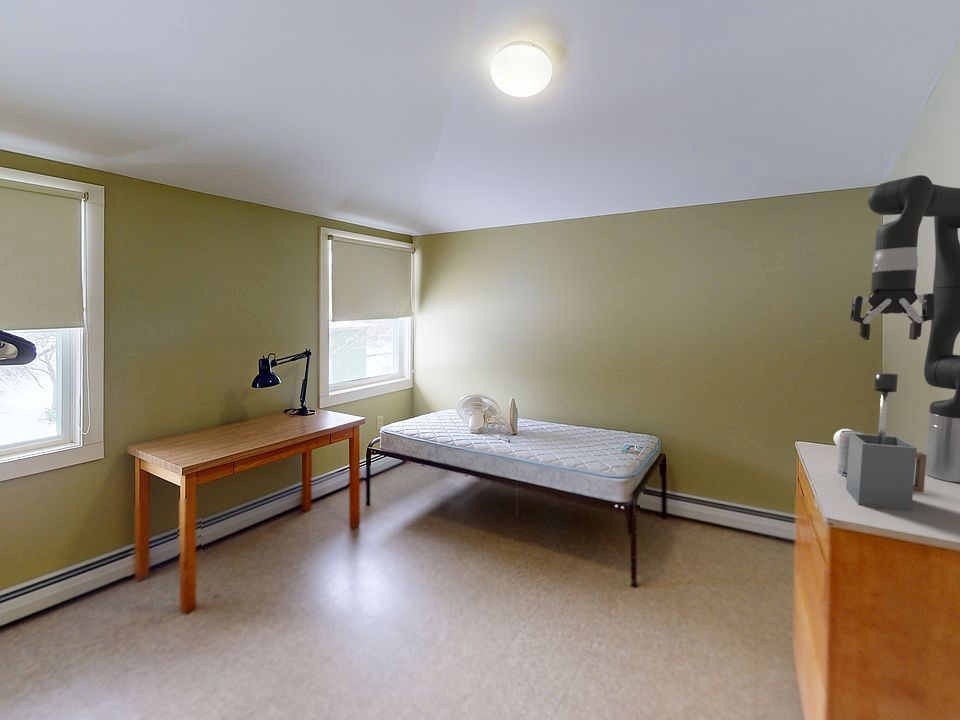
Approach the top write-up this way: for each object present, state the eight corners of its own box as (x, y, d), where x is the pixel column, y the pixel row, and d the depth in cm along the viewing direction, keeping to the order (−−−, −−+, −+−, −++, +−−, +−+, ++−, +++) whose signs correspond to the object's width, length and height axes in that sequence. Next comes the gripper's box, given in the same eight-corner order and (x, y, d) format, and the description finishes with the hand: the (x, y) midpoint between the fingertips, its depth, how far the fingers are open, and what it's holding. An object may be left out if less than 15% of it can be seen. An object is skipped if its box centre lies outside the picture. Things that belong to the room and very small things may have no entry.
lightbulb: (848, 461, 133) (851, 426, 132) (864, 469, 127) (866, 432, 126) (827, 461, 134) (829, 426, 133) (841, 469, 128) (843, 432, 127)
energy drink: (866, 478, 121) (869, 436, 119) (844, 477, 122) (847, 435, 120) (854, 471, 126) (857, 430, 124) (833, 470, 127) (835, 430, 126)
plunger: (892, 455, 109) (899, 372, 106) (905, 465, 102) (912, 376, 100) (856, 452, 112) (862, 371, 109) (866, 461, 105) (872, 375, 103)
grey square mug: (911, 496, 109) (916, 437, 107) (930, 513, 100) (935, 449, 99) (846, 489, 115) (849, 432, 113) (858, 504, 106) (862, 443, 104)
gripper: (927, 268, 102) (921, 338, 104) (849, 272, 108) (845, 338, 110) (944, 266, 95) (937, 341, 97) (860, 270, 101) (855, 340, 103)
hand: (888, 339), depth 104 cm, fingers open, 8 cm apart
